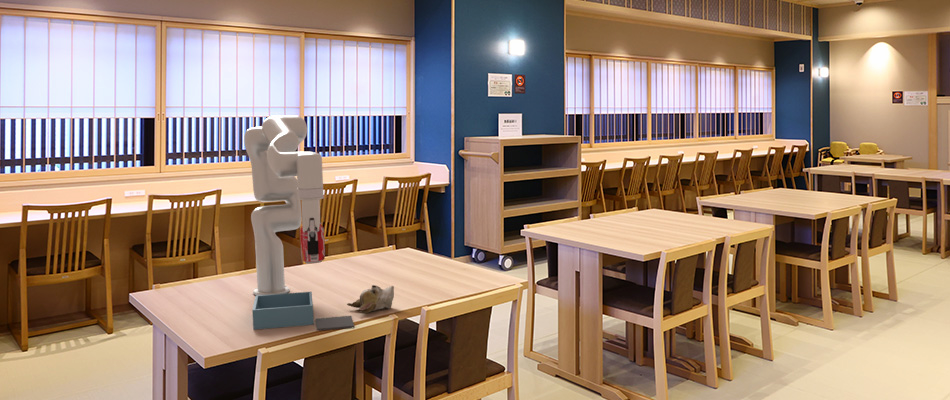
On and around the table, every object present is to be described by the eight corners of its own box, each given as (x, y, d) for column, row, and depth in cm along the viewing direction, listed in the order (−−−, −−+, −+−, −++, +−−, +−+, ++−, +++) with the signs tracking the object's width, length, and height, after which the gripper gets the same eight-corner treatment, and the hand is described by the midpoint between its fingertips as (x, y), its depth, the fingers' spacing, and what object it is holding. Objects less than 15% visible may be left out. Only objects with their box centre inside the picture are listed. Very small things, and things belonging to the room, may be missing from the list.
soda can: (317, 258, 215) (315, 220, 214) (329, 261, 210) (328, 222, 209) (297, 262, 210) (295, 223, 209) (309, 265, 205) (307, 225, 204)
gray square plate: (315, 320, 214) (315, 318, 214) (351, 317, 217) (351, 315, 217) (316, 330, 204) (316, 328, 204) (354, 327, 206) (354, 325, 206)
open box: (256, 313, 223) (255, 295, 222) (312, 309, 227) (311, 291, 226) (253, 329, 206) (252, 310, 205) (313, 324, 210) (312, 305, 209)
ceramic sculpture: (399, 284, 223) (356, 293, 216) (401, 310, 224) (358, 319, 217) (386, 278, 232) (344, 286, 225) (388, 302, 234) (346, 312, 226)
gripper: (298, 191, 215) (300, 247, 217) (297, 197, 198) (300, 258, 200) (322, 190, 217) (325, 246, 219) (324, 196, 200) (326, 256, 202)
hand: (313, 251), depth 210 cm, fingers closed on soda can, 7 cm apart
